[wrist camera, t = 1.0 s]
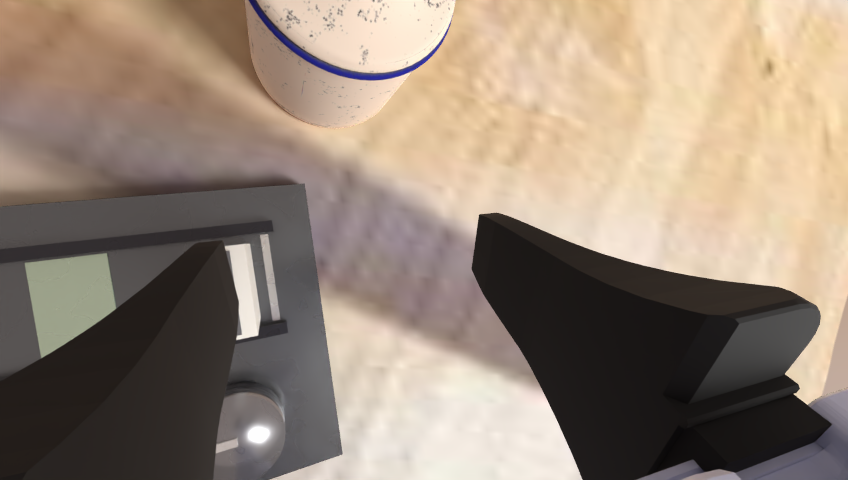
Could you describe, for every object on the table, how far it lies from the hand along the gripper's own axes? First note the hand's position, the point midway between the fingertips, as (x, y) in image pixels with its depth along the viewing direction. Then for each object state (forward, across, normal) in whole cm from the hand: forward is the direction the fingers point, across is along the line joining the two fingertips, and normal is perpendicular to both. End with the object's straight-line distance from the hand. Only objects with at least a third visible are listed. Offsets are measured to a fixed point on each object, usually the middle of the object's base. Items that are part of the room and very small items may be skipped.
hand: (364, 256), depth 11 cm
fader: (+9, +5, +7) cm, 12 cm away
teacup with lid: (+18, 0, -4) cm, 18 cm away
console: (+8, +9, +10) cm, 16 cm away
